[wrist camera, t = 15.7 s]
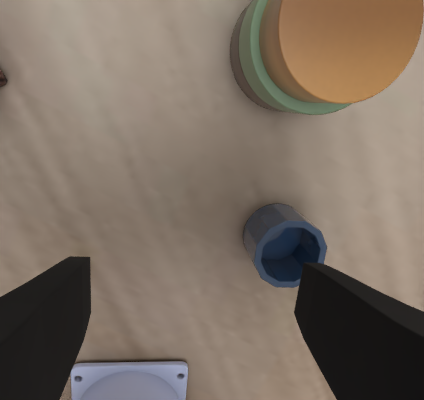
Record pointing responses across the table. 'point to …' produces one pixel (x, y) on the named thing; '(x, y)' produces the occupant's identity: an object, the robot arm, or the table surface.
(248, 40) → the sage chip
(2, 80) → the letter holder
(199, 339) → the table surface
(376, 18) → the orange short cylinder
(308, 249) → the small cup
